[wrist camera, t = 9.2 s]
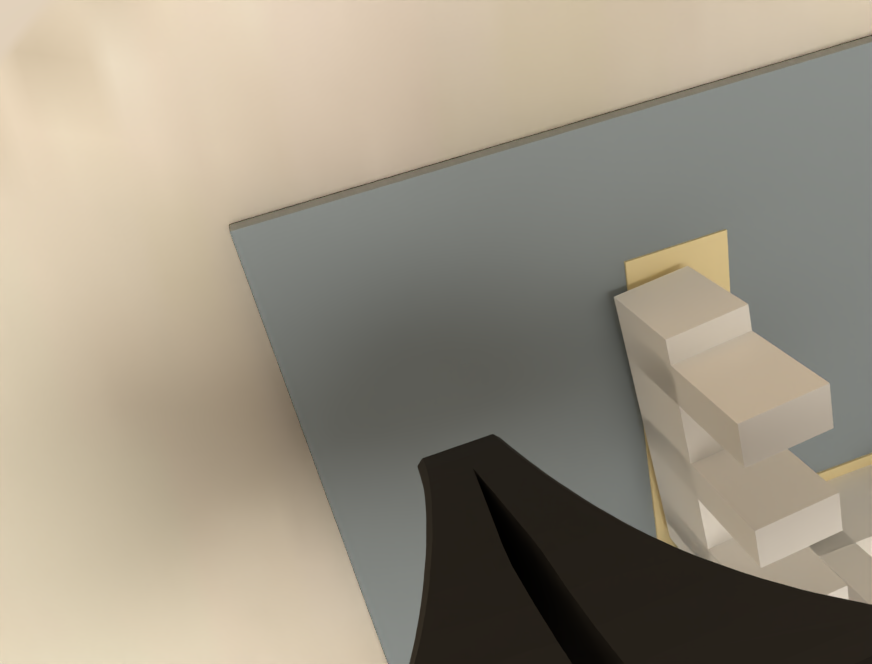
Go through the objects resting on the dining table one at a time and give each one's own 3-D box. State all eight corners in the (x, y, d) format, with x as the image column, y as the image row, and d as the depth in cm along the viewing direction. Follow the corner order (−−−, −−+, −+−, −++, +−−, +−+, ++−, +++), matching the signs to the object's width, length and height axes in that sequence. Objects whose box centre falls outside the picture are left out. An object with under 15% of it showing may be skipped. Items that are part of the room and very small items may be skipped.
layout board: (1021, -9, 16) (1042, -8, 15) (955, 549, 23) (969, 560, 22) (229, 225, 14) (229, 233, 13) (424, 758, 20) (428, 774, 20)
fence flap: (745, 569, 20) (862, 702, 16) (680, 599, 19) (783, 739, 16) (691, 263, 15) (832, 351, 12) (608, 298, 15) (727, 398, 12)
